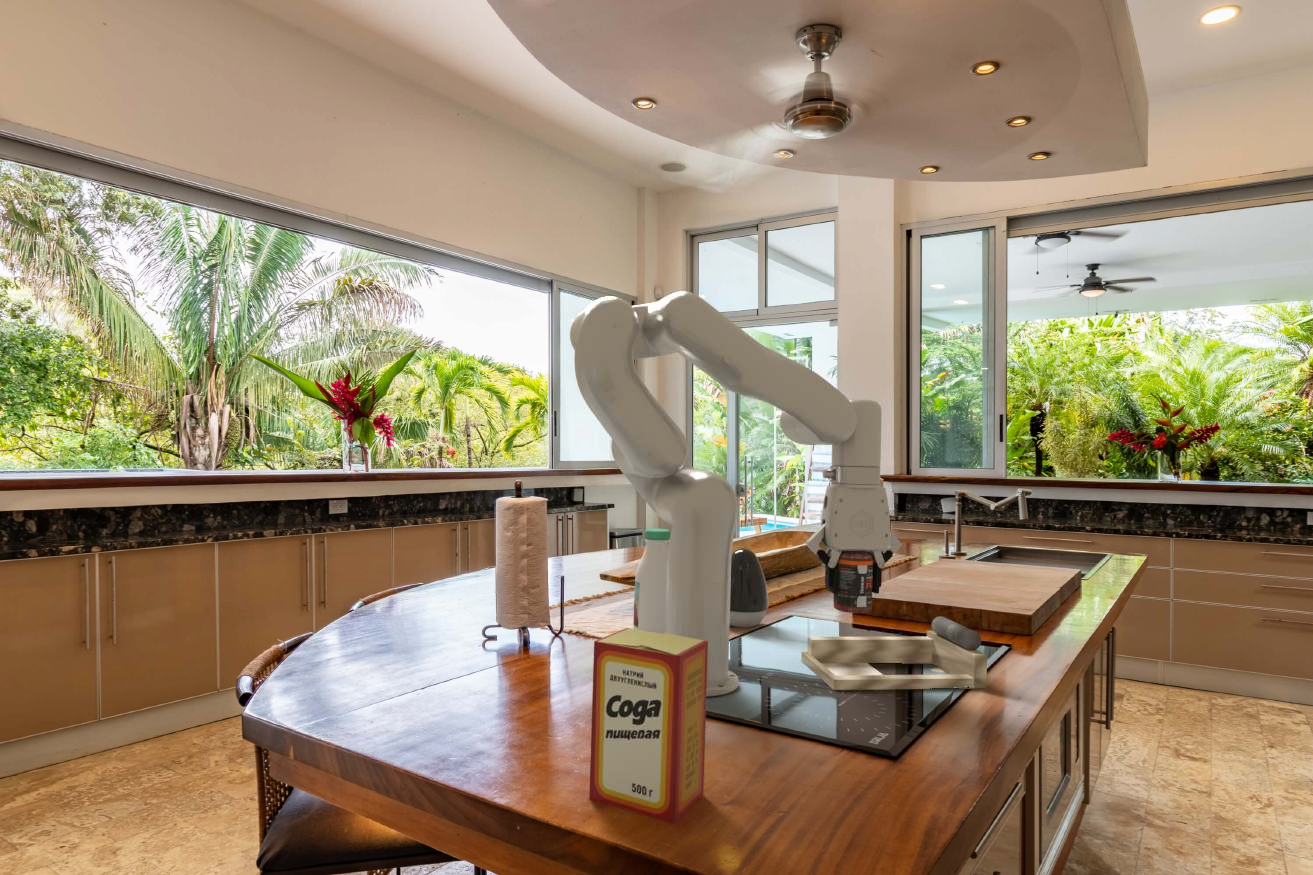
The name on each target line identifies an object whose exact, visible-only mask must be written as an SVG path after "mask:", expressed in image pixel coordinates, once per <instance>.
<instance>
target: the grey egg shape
mask: <svg viewBox="0 0 1313 875" xmlns="http://www.w3.org/2000/svg"><path fill="white" fill-rule="evenodd" d="M768 594H769V592H768V587H767V582H766V577H765V574H764V570H763V568H762V564H761V563H760V560H759V557H757V555H756V553H755V552H754V551H753V550H751V549H748V548H745V547H743V548H741V547H740V548H738V549H736V550H734V551H732V557H731V590H730V625H729V626H732V627H736V628H745V629H746V628H753V627H756V626H757V625H759V624H760V623H761V622H762V621H763V620H764V618H765V616H766V613H767V610H768V609H769V595H768Z"/></svg>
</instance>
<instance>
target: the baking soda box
mask: <svg viewBox="0 0 1313 875" xmlns="http://www.w3.org/2000/svg"><path fill="white" fill-rule="evenodd" d="M593 641H594V642H593V665H592V666H593V670H592V671H593V672H592V699H591V700H592V702H591V704H592V705H591V729H590V730H591V731H590V732H591V733H590V734H591V736H590V760H589V761H590V765H589V766H590V768H589V793H588V796H589V797H588V799H589V800H593V801H596V802H598V803H603V804H606V805H610V806H612V807H616V808H620V809H624V810H627V811H630V812H635V813H637V814H641V815H644V816H649V817H652V818H654V819H658V820H662V821H666V822H669V823H672V824H676V823H677V822H678V821H679V820H681V818H682V817H684V815H685V814H686V813H688V812H689V810H691V809H692V808H693V807H694V806H695V804H696V803H698V802H699V801H700V800H701V799H702V798H703V796H704V789H705V788H704V786H705V759H706V758H705V752H706V724H707V723H706V720H707V719H706V717H707V696H706V691H707V657H708V641H705V640H699V639H694V638H688V637H683V636H678V635H672V634H667V633H664V634H661V633H654V632H648V631H642V630H635V629H633V628H628V627H626V628H624V629H621V630H618V631H616V632H614V633H611V634H608V635H606V636H603V637H602V638H598V639H597V640H593Z"/></svg>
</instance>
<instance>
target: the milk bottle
mask: <svg viewBox="0 0 1313 875" xmlns="http://www.w3.org/2000/svg"><path fill="white" fill-rule="evenodd" d="M670 537H671V531H670V530H669V529H667V528H646V529H645V531H644V542H645V547H644V550H643V554H642V556H641V559H640V561H639V563H638V565H637V568H636V572H635V577H634V578H635V579H634V597H633V599H634V600H633V624H632V625H633V627H632V629H635V630H642V631H648V632H654V633H661V634H664V633H665V621H666V587H667V577H666V576H667V556H668V548H669V542H670Z"/></svg>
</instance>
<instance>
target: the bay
mask: <svg viewBox="0 0 1313 875" xmlns="http://www.w3.org/2000/svg"><path fill="white" fill-rule="evenodd" d="M931 629H932V630H926V636H923V635H922V636H807V647H806V648H807V651H801V659H800V660H801V662H802V663H803V664H804V665H807V666H806V667H808V668H809V670H811V671H812V672H813V673H814V674H816V676H818V677H819V678H820V679H821V680H822V681H824V683H825V684H827V685H828V687H830V689H832V690H834V691H859V690H860V691H862V690H863V691H865V690H866V691H868V690H870V691H871V690H878V691H879V690H933V689H932V688H954V687H965V686H967V687H969V688H968V689H987V681H988V680H987V677H988V676H987V675H988V673H987V670H988V654H986V653H984V652H982V651H980V650H978V649H979V648H980V646H981V644H982V637H981V634H980V633H978V632H977V631H975V630H973V629H971V628H970V627H969V628H968V627H966V626H964V625H962V624H960V623H957V622H955V621H954V620H951V619H949V618H946V617H945V616H936V617H935V618H934V619H932V621H931ZM869 663H902V664H908V665H909V664H932V665H934V666H936V667H937V668H939V669H941V670H942V671H944V672H945V673H947V674H883V673H881V672H880V671H879V670H877V669H876V668H874V667H873V666H871V664H869ZM930 688H931V689H930Z"/></svg>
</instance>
